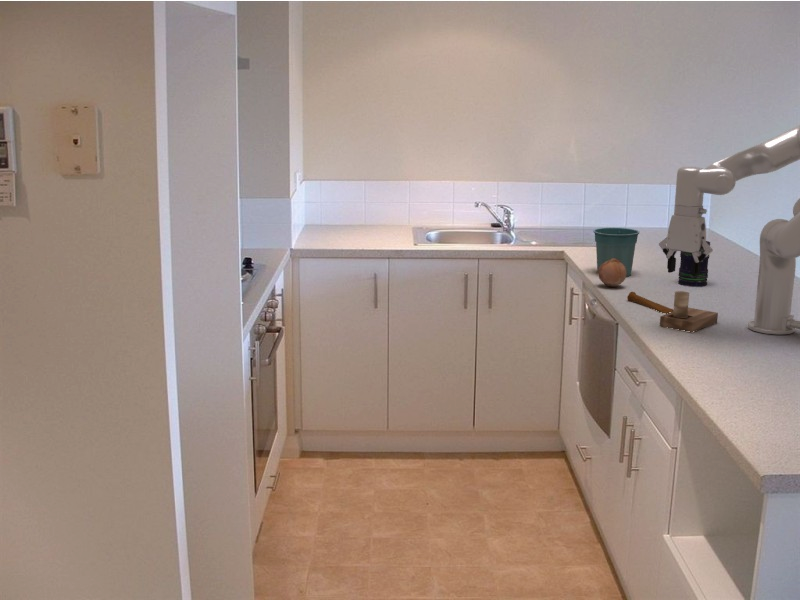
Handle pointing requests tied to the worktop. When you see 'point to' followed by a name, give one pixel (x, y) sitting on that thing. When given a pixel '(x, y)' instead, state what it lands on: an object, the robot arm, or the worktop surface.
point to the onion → (612, 272)
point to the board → (690, 320)
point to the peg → (681, 305)
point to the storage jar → (686, 270)
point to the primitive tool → (648, 303)
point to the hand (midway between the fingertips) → (683, 273)
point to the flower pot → (616, 246)
